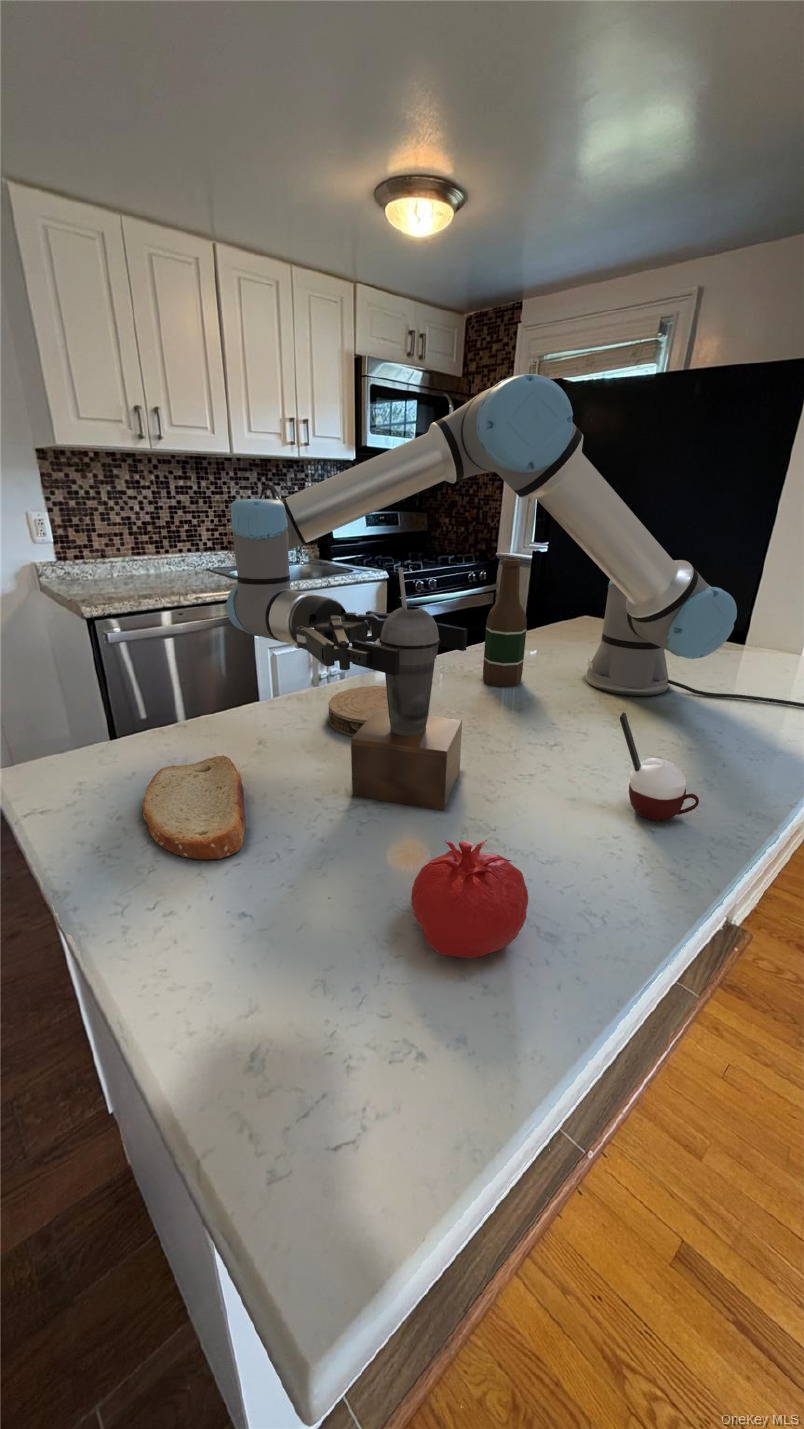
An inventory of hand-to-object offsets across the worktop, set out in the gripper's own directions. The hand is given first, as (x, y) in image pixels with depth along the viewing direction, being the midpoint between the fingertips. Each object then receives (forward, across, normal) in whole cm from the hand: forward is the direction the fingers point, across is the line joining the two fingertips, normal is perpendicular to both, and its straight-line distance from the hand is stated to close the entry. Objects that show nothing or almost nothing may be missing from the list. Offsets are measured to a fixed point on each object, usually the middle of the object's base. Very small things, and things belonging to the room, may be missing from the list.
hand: (433, 650), depth 66 cm
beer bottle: (-16, -45, -19) cm, 51 cm away
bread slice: (-18, +21, -19) cm, 34 cm away
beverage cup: (-4, 0, -11) cm, 12 cm away
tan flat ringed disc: (-22, -14, -19) cm, 32 cm away
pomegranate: (+17, +17, -19) cm, 31 cm away
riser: (-4, 0, -19) cm, 19 cm away
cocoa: (+23, -14, -19) cm, 33 cm away
